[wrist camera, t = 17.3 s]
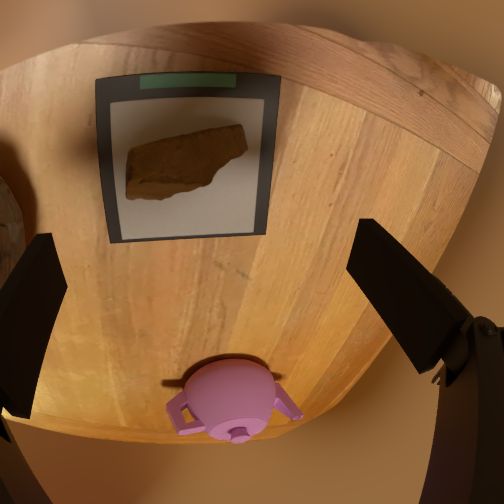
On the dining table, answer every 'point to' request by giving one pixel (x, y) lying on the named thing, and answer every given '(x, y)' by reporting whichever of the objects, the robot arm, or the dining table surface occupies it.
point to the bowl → (10, 232)
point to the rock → (181, 162)
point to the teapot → (230, 401)
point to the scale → (183, 122)
